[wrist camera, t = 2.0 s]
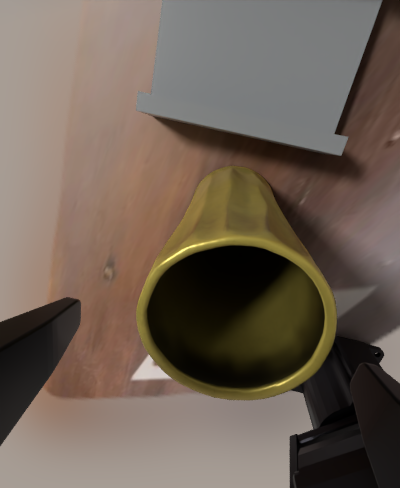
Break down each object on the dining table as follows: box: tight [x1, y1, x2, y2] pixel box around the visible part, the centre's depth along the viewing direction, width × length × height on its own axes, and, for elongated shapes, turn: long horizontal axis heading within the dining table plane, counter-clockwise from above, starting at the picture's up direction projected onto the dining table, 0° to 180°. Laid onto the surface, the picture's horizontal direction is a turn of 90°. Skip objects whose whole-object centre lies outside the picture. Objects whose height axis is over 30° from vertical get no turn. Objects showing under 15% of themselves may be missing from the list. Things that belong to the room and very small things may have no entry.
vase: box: [136, 166, 337, 400], centre depth 14 cm, size 6×6×14 cm
